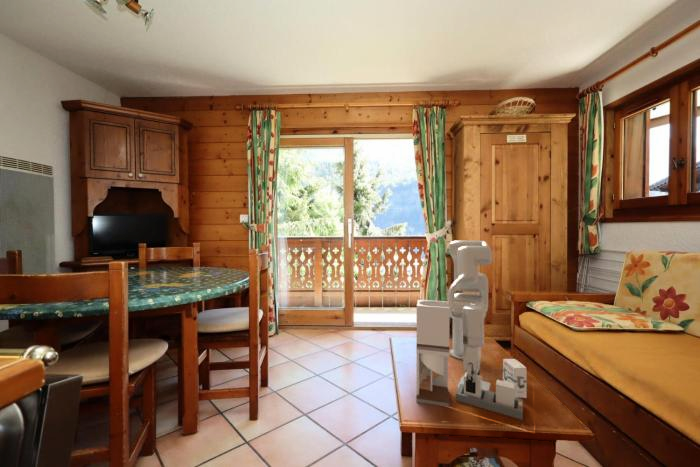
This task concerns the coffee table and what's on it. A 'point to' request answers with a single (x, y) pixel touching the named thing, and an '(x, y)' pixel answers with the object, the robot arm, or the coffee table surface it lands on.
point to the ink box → (516, 376)
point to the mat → (484, 384)
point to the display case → (432, 352)
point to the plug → (478, 386)
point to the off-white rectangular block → (505, 393)
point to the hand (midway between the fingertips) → (472, 386)
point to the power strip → (490, 403)
